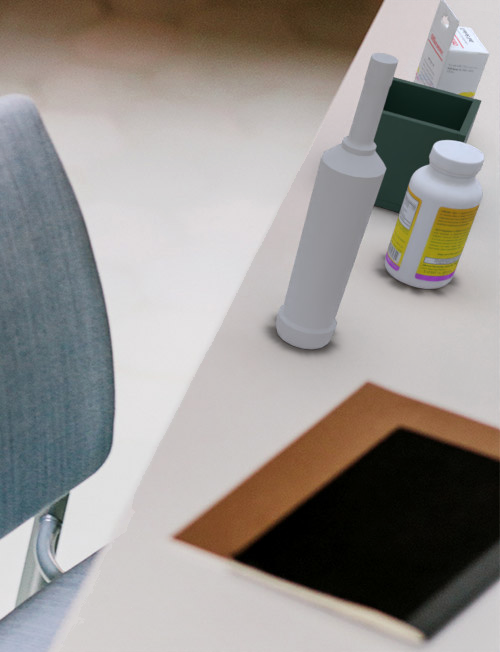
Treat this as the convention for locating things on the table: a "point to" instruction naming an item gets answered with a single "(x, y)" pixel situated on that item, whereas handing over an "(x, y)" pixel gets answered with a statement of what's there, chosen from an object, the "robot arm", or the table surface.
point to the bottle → (337, 218)
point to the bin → (416, 133)
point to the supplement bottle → (436, 216)
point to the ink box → (451, 56)
